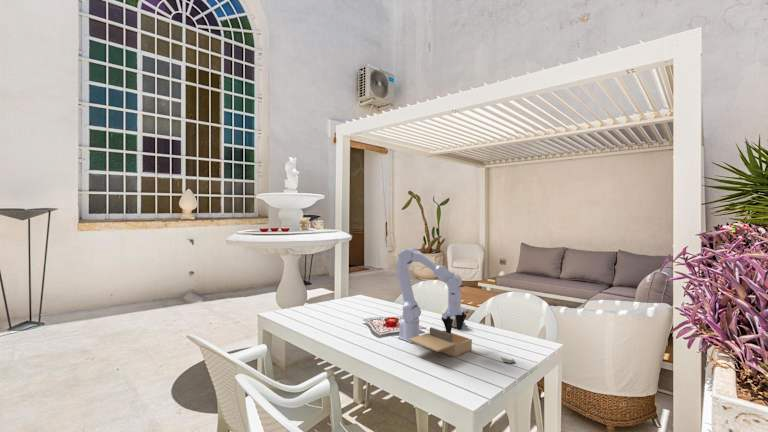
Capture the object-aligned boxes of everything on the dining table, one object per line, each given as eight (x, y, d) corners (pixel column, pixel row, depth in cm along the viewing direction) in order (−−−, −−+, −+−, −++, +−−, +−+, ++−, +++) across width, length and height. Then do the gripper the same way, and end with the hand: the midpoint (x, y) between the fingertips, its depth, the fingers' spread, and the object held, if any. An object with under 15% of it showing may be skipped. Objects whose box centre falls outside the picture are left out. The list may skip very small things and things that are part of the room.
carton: (426, 346, 165) (427, 335, 165) (443, 340, 172) (444, 330, 172) (454, 357, 152) (454, 345, 152) (471, 350, 160) (471, 339, 160)
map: (503, 364, 146) (503, 362, 146) (496, 346, 167) (496, 344, 167) (516, 365, 145) (516, 363, 145) (508, 347, 166) (508, 345, 166)
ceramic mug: (454, 329, 189) (455, 315, 189) (444, 325, 196) (444, 311, 196) (468, 326, 194) (469, 312, 194) (458, 322, 201) (458, 309, 201)
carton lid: (408, 340, 157) (408, 331, 157) (427, 334, 165) (427, 326, 165) (437, 351, 145) (437, 342, 144) (456, 344, 153) (456, 335, 153)
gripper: (450, 306, 157) (450, 337, 157) (471, 301, 166) (470, 330, 166) (438, 302, 162) (438, 332, 162) (458, 298, 171) (458, 326, 171)
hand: (453, 331), depth 164 cm, fingers open, 7 cm apart
